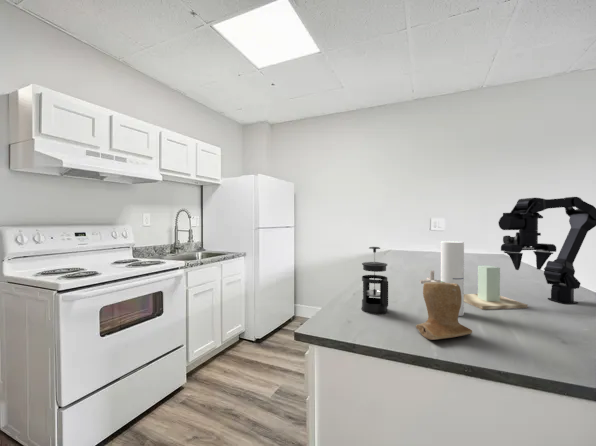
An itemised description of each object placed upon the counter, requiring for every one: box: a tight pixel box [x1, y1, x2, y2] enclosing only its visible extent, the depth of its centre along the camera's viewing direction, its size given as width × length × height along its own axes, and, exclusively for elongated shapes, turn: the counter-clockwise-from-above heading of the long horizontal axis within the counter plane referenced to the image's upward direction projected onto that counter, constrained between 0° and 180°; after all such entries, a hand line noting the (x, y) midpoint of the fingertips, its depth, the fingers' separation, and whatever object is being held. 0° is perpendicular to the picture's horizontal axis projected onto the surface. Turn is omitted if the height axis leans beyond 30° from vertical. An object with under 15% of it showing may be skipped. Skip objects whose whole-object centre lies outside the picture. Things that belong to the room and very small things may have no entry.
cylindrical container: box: [440, 240, 465, 317], centre depth 99 cm, size 7×7×25 cm
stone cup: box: [415, 282, 473, 341], centre depth 81 cm, size 15×12×15 cm
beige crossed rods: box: [419, 269, 441, 285], centre depth 126 cm, size 10×10×10 cm
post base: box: [464, 293, 528, 310], centre depth 112 cm, size 18×16×5 cm
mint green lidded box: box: [477, 265, 501, 301], centre depth 111 cm, size 5×5×13 cm
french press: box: [361, 246, 389, 315], centre depth 102 cm, size 12×9×23 cm
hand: (527, 269), depth 111 cm, fingers open, 9 cm apart
